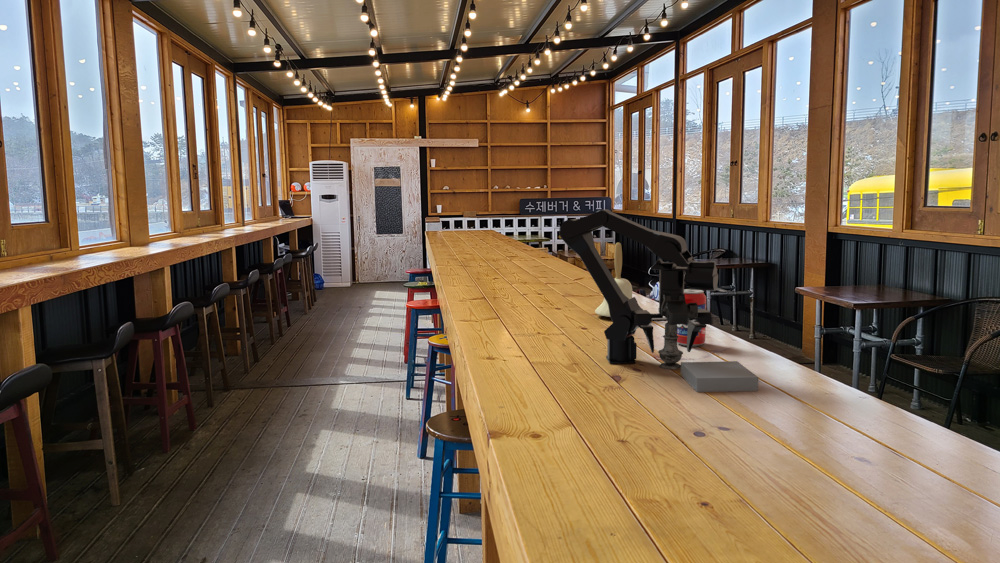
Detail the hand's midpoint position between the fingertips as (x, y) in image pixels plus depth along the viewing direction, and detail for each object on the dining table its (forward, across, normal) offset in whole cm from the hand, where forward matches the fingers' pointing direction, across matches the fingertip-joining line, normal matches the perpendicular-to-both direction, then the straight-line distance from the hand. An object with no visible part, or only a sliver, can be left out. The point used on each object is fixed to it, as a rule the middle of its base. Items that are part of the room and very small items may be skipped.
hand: (670, 352), depth 162 cm
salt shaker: (+4, 0, 0) cm, 4 cm away
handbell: (+4, -2, +62) cm, 62 cm away
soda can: (+4, +11, +22) cm, 25 cm away
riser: (+4, +7, -14) cm, 16 cm away
